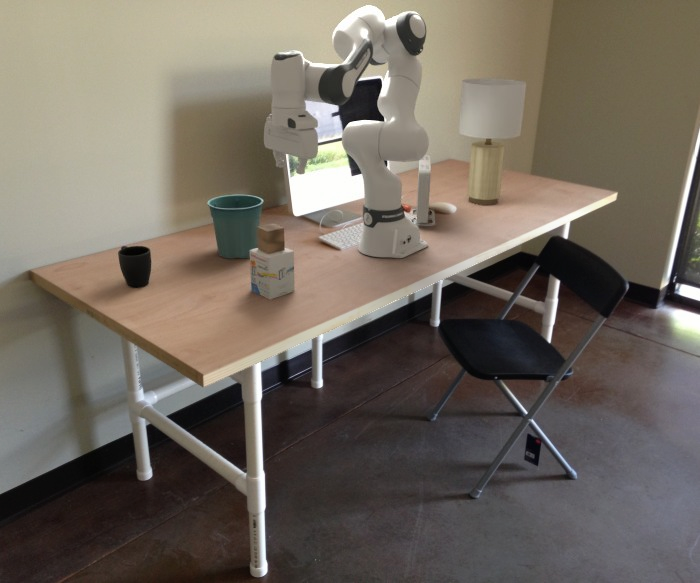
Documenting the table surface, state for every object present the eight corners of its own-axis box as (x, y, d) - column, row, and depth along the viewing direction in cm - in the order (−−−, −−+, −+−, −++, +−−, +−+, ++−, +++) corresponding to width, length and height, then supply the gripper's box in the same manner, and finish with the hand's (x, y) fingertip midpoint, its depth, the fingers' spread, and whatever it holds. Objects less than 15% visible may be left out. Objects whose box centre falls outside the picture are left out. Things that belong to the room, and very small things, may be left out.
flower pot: (207, 246, 212) (204, 196, 205) (260, 241, 216) (257, 192, 210) (214, 264, 197) (210, 211, 191) (270, 259, 202) (268, 206, 195)
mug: (142, 271, 191) (138, 239, 188) (158, 285, 182) (155, 252, 179) (113, 278, 187) (108, 245, 183) (128, 292, 178) (124, 258, 174)
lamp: (458, 191, 275) (467, 77, 258) (515, 196, 269) (528, 80, 251) (448, 206, 255) (457, 83, 238) (509, 212, 249) (523, 86, 231)
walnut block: (274, 244, 179) (273, 223, 176) (284, 250, 175) (284, 227, 173) (257, 248, 176) (256, 226, 174) (268, 254, 172) (267, 231, 170)
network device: (410, 207, 253) (413, 154, 246) (434, 208, 253) (437, 154, 245) (409, 228, 230) (412, 170, 222) (435, 229, 229) (439, 171, 221)
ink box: (250, 290, 180) (248, 249, 176) (275, 282, 186) (273, 241, 181) (270, 300, 175) (268, 257, 170) (295, 291, 180) (294, 249, 175)
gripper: (257, 113, 181) (259, 164, 187) (301, 124, 167) (302, 179, 172) (276, 111, 185) (278, 161, 190) (322, 121, 170) (322, 175, 176)
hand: (290, 170), depth 181 cm, fingers open, 8 cm apart
